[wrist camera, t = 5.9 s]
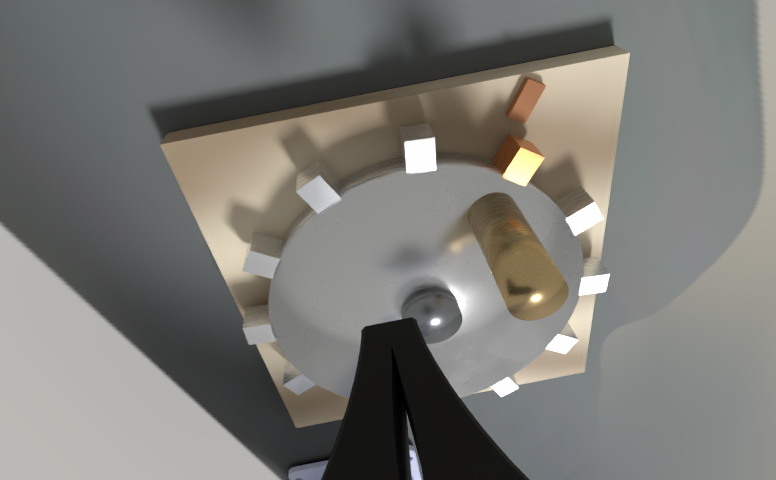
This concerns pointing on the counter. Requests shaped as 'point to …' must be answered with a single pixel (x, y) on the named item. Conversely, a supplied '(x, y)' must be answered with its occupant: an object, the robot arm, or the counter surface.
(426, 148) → the sprocket
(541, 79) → the sprocket base
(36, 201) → the counter surface
